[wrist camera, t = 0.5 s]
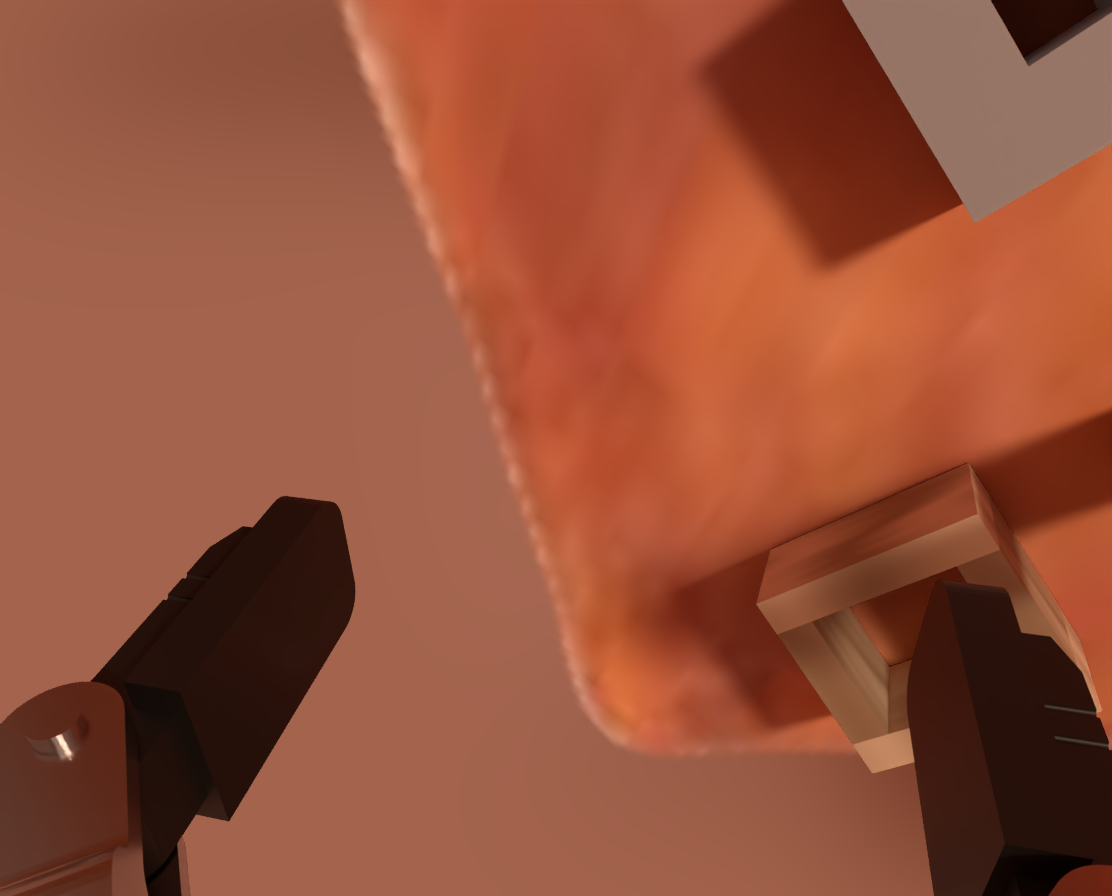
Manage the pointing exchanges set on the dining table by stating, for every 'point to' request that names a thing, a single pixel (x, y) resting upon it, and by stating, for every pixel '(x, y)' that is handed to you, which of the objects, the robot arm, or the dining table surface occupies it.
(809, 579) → the wooden square box frame
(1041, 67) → the block
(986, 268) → the dining table surface
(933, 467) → the dining table surface
